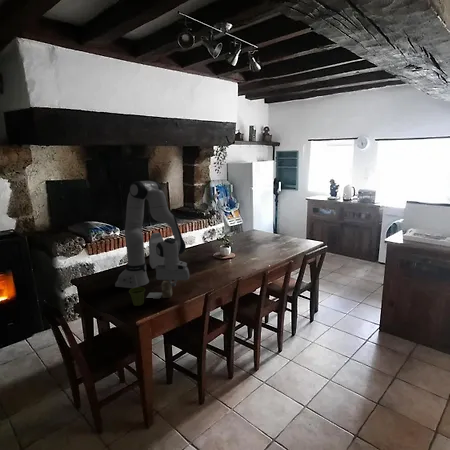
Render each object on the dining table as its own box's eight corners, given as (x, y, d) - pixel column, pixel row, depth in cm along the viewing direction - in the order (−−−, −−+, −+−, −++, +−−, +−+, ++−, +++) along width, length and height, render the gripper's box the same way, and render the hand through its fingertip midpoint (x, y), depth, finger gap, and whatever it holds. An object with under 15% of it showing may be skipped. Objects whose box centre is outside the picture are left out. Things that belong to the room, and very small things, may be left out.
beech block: (162, 297, 201) (161, 284, 199) (164, 294, 206) (163, 280, 203) (170, 297, 200) (169, 283, 198) (172, 293, 205) (171, 280, 203)
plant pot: (136, 309, 187) (134, 295, 185) (127, 304, 193) (125, 290, 191) (149, 303, 194) (148, 289, 192) (140, 298, 200) (139, 285, 198)
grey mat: (145, 298, 200) (145, 298, 200) (149, 292, 208) (149, 292, 208) (160, 298, 199) (160, 298, 199) (163, 292, 207) (163, 292, 207)
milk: (152, 268, 249) (149, 235, 243) (149, 264, 260) (146, 232, 254) (167, 266, 254) (165, 233, 248) (164, 261, 264) (162, 230, 258)
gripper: (153, 266, 195) (155, 288, 199) (187, 266, 194) (188, 288, 197) (156, 263, 202) (158, 283, 205) (189, 263, 200) (190, 284, 203)
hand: (173, 286), depth 201 cm, fingers closed
